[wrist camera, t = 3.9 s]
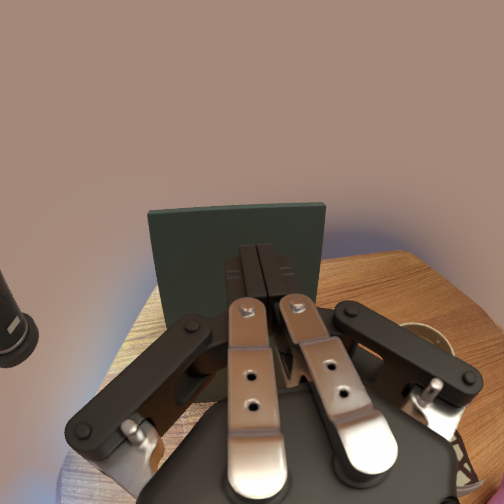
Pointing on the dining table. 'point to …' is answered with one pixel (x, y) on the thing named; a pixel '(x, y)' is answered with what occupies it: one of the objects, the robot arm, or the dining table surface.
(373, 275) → the dining table surface
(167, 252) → the lid
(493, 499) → the teapot
